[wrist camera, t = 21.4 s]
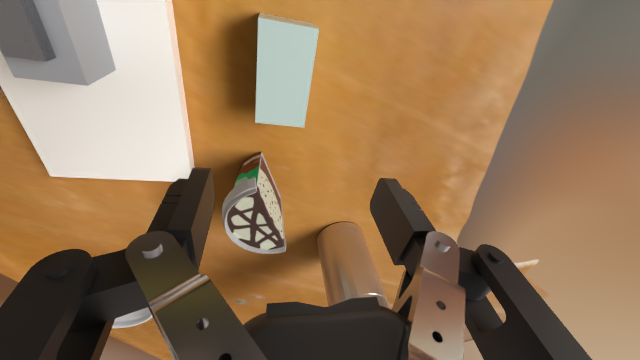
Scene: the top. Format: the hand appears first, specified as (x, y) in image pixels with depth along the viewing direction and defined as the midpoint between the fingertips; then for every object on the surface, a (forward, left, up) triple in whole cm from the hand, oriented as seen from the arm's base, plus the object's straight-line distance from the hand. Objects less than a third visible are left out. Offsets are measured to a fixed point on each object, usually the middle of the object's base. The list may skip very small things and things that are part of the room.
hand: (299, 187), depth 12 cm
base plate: (-4, +19, -22) cm, 29 cm away
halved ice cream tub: (-17, +3, -22) cm, 28 cm away
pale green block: (0, 0, -22) cm, 22 cm away
